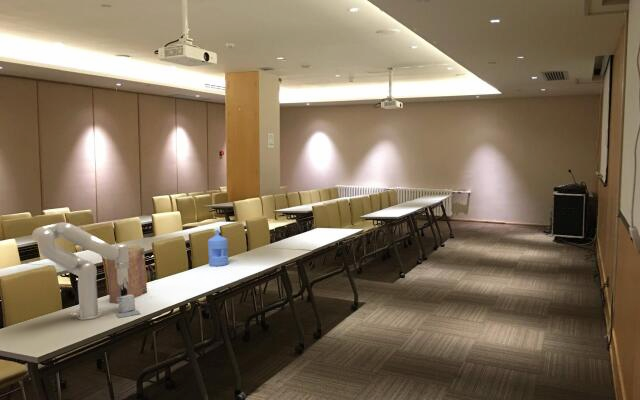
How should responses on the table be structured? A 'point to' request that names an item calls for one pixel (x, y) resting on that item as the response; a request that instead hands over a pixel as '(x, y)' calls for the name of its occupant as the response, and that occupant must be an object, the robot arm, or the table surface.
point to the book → (135, 276)
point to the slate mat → (128, 314)
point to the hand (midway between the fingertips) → (124, 295)
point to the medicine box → (126, 303)
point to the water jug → (217, 250)
